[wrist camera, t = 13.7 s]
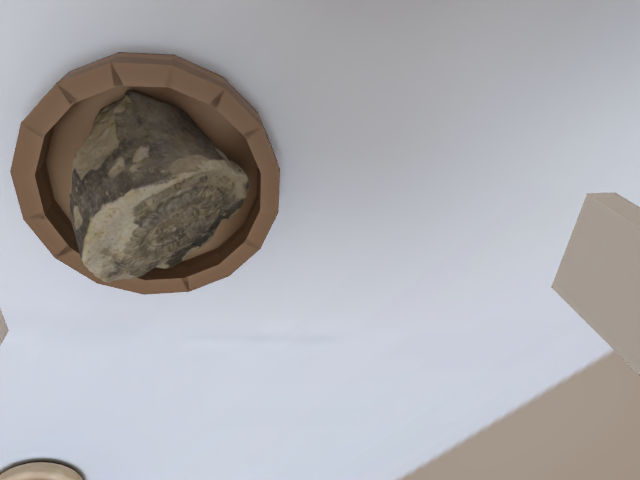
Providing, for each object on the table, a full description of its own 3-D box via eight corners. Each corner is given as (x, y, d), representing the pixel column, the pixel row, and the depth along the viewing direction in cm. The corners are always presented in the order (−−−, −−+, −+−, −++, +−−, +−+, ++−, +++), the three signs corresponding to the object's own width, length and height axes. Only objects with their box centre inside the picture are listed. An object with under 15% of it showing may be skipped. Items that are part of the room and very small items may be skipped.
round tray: (276, 59, 29) (283, 69, 27) (270, 263, 37) (275, 286, 35) (0, 46, 26) (-22, 56, 23) (57, 274, 34) (45, 300, 31)
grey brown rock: (213, 274, 35) (131, 347, 26) (109, 210, 35) (-8, 260, 26) (275, 147, 30) (202, 181, 21) (155, 75, 31) (34, 78, 21)
